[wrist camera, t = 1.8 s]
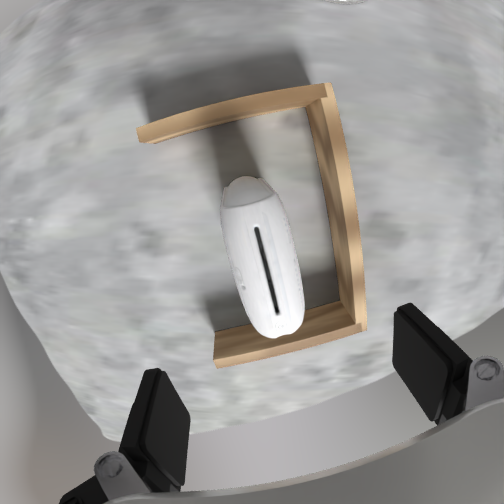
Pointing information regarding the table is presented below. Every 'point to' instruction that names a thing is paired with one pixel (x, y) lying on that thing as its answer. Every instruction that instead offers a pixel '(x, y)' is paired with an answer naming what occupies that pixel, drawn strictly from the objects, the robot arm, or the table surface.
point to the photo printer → (262, 256)
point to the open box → (338, 206)
